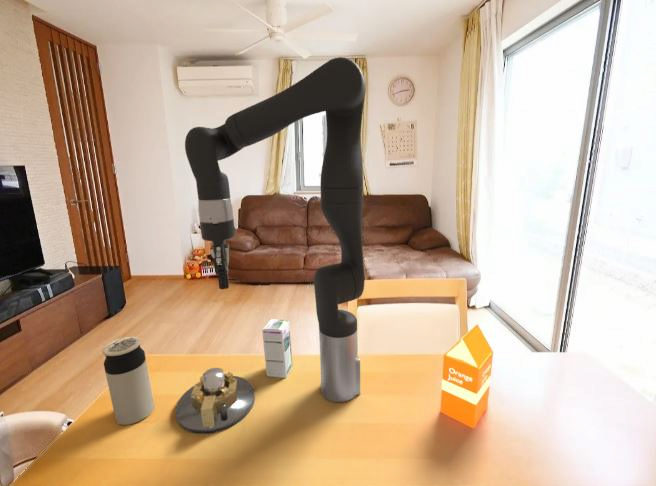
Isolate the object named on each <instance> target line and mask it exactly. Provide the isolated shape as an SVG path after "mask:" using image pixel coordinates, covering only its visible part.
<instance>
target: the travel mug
mask: <svg viewBox="0 0 656 486" xmlns="http://www.w3.org/2000/svg"><path fill="white" fill-rule="evenodd" d="M141 344H142V339H141V338H140V337H138V336H126V337H120V338H118V339H115V340H113V341H110V342H109V343H107V344H106V345H104V347H103V348H102V351H101V353H102V354H103V355H104V356H105V358H104V362H103V367H104V368H103V369H104V372H105V376H106V382H107V386H108V391H109V395H110V400H111V404H112V405H111V406H112V408H113V413H114V418H115V421H116V423H117V424H119V425H126V426H127V425H132V424H136V423H138V422H141V421H142V420H145V418H147V417H148V416H149V415H150V414H151V413H152V412H153V411H154V408H155V402H154V397H153V392H152V386H151V380H150V375H149V370H148V365H147V364H148V363H147V360H146V353H145V350H144V349H143V348H142V347H141Z"/></svg>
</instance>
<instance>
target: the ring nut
mask: <svg viewBox="0 0 656 486" xmlns="http://www.w3.org/2000/svg"><path fill="white" fill-rule="evenodd" d="M223 374H224V382H225V388H223V389H222V390H221V395H219V396H216V395H212V396H205V397H204V395H205V389H204V382H203V375H202V376H200V377H199V382H197V383H195V384H194V385H193V386H194V389H193V392H192V394H191V400H192V407H193V408H194V409H196V410H197V411H199V412H200V413H201V415H202V422H203V428H204V427H212V426H215V423H216V419H217V414H218V413H219V412H220V404H222V403H226V407H227V408H228V407H230V406H231V405H232V404H234V403H235V402H237V395H238V382H237V379H235V378H233V376H234V375H233V374H234V373H232V372H231V371H228V372H227V373H223Z"/></svg>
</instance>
